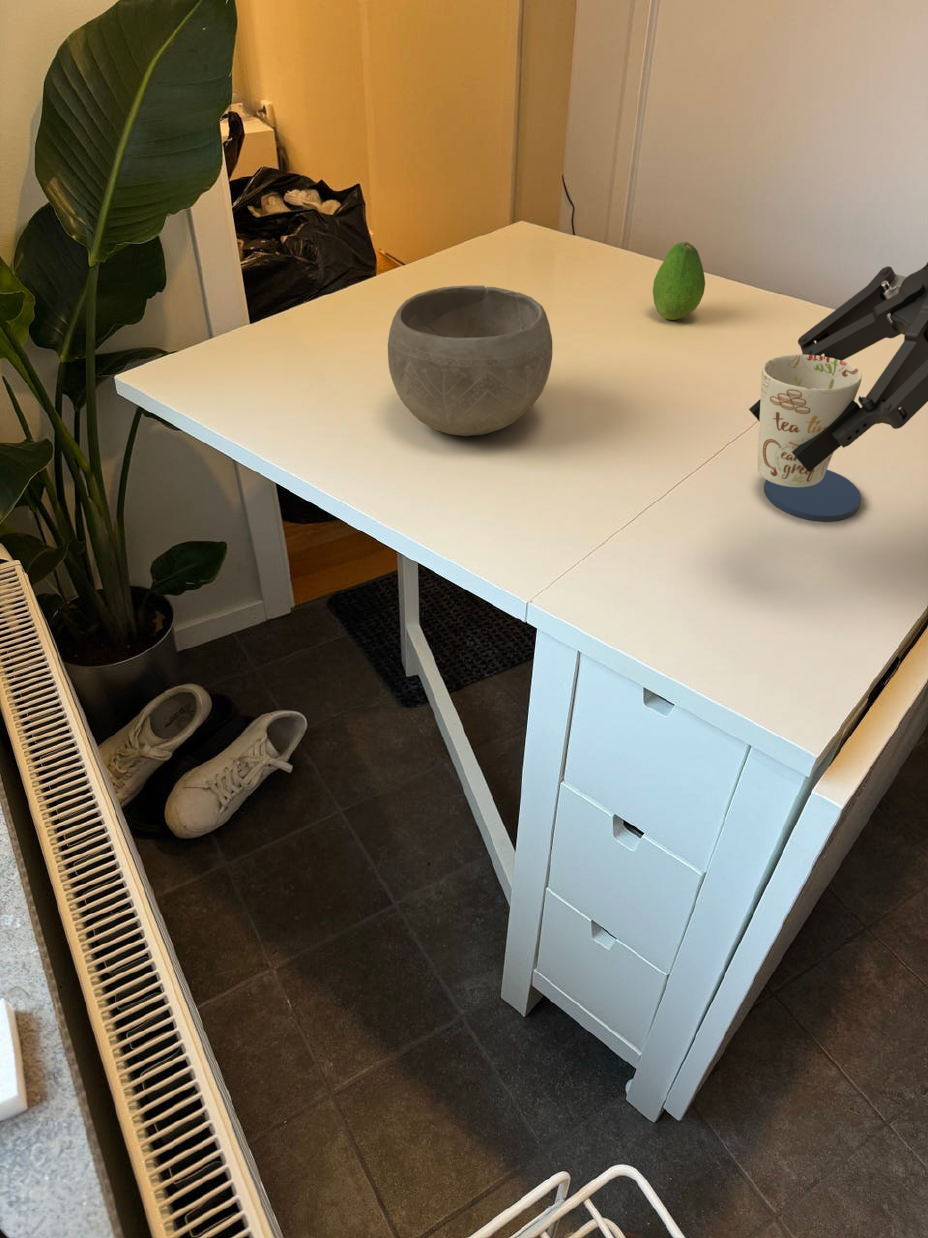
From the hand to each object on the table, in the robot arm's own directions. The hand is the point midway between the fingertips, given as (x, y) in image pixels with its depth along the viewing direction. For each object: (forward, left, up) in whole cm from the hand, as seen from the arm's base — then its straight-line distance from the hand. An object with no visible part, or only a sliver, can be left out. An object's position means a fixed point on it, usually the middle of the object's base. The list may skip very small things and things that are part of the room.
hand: (778, 439), depth 83 cm
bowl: (+43, +9, -17) cm, 47 cm away
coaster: (+8, -19, -17) cm, 27 cm away
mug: (-1, -3, -3) cm, 5 cm away
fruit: (+57, -37, -17) cm, 70 cm away
